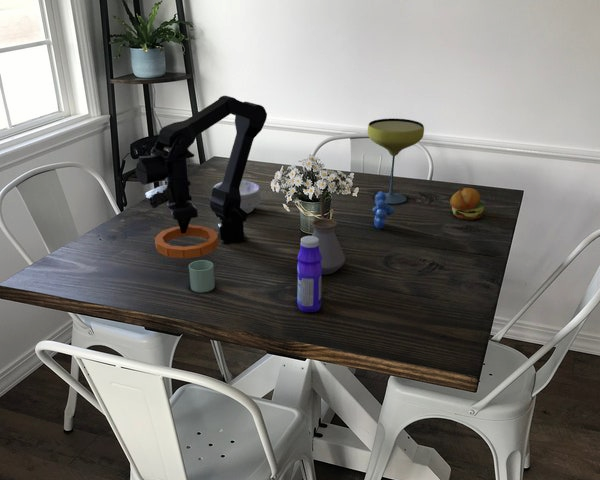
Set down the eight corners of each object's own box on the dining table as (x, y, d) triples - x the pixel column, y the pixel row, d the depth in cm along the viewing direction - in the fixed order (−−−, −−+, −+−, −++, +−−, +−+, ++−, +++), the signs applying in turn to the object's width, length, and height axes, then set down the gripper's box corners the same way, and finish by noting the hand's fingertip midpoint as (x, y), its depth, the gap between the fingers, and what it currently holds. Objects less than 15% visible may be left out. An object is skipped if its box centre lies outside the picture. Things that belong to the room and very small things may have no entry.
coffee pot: (346, 277, 161) (348, 223, 154) (301, 277, 161) (301, 223, 154) (341, 244, 180) (342, 194, 172) (301, 244, 179) (301, 194, 172)
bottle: (295, 299, 151) (295, 233, 142) (319, 298, 151) (320, 232, 143) (298, 314, 144) (298, 246, 136) (322, 313, 145) (324, 245, 136)
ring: (211, 230, 173) (210, 222, 172) (223, 253, 160) (223, 244, 159) (152, 237, 169) (151, 229, 168) (160, 261, 156) (159, 253, 154)
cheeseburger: (491, 216, 198) (491, 188, 192) (468, 230, 194) (467, 203, 188) (467, 206, 205) (466, 179, 199) (444, 220, 202) (442, 193, 195)
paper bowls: (270, 207, 205) (269, 184, 201) (242, 222, 194) (241, 198, 190) (233, 199, 212) (232, 176, 208) (204, 212, 201) (202, 189, 197)
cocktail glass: (365, 188, 221) (369, 117, 209) (416, 191, 219) (423, 119, 207) (362, 206, 206) (366, 130, 194) (418, 209, 204) (425, 132, 191)
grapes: (394, 236, 184) (397, 197, 178) (371, 235, 185) (374, 197, 179) (392, 221, 194) (395, 184, 189) (370, 221, 195) (372, 184, 189)
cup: (212, 279, 160) (210, 258, 157) (217, 290, 155) (215, 268, 152) (188, 283, 158) (186, 262, 155) (193, 294, 153) (191, 272, 150)
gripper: (141, 168, 168) (148, 222, 175) (150, 190, 152) (157, 249, 160) (183, 164, 171) (188, 218, 178) (195, 186, 155) (200, 243, 163)
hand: (182, 231), depth 170 cm, fingers closed on ring, 2 cm apart
